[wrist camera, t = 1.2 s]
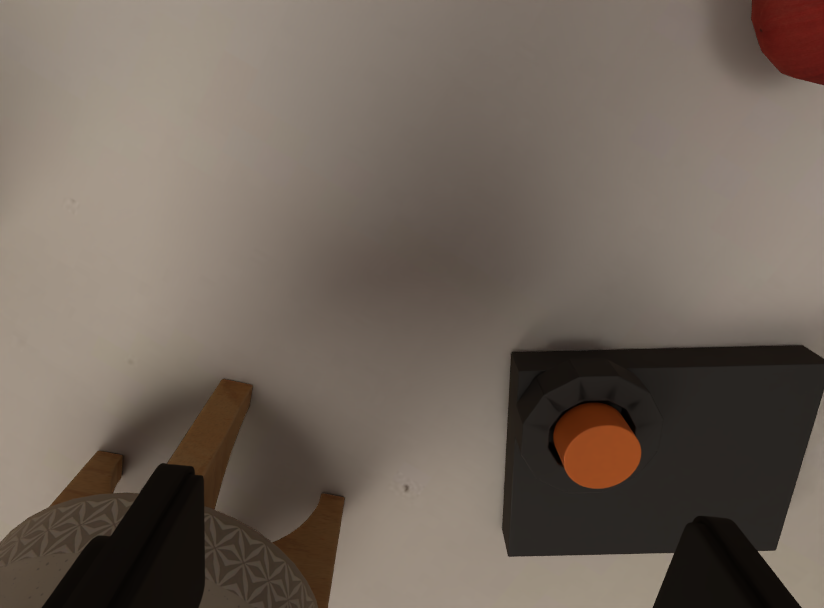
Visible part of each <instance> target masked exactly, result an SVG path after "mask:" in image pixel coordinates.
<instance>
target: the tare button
mask: <svg viewBox="0 0 824 608" xmlns="http://www.w3.org/2000/svg"><path fill="white" fill-rule="evenodd" d="M553 440H554V444H555V447H556V450H557V452H558V454H559V457H560V459H561V462H562V464H563V466H564V469H565V471H566V473H567V475H568V476H569V477H570V478H571V479H572V480H573V481H574V482H576V483H577V484H579V485H581V486H584V487H587V488H593V489H601V488H608V487H611V486H614V485H617V484H619V483H621V482H623V481H624V480H626V479H627V478H628V477H629V476H631V474H632V473H633V472H634V471H635V470H636V468H637V466H638V464H639V462H640V459H641V446H640V443H639V441H638V439H637V437H636V436H635V434H634V433H633V431H632V430H631V428H630V427H629V425H628V424H627V422H626V421H625V419H624V418H623V416H622V415H621V414H620V413H619V411H617V410H616V409H615V408H613V407H612V406H609V405H607V404H604V403H598V402H591V403H584V404H580V405H578V406H575V407H573V408H571V409H570V410H568V411H567V412H566V413H565V414H563V415H562V417H561V418H560V419H559V420H558V422H557V424H556V426H555V429H554V433H553Z"/></svg>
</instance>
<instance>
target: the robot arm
mask: <svg viewBox="0 0 824 608" xmlns="http://www.w3.org/2000/svg"><path fill="white" fill-rule="evenodd" d="M204 587H205V525H204V478H203V476H202V475H195V470H194V467H192V466H185V465H175V464H164V463H162V464H160V465H159V466H158V467H157V468H156V469H155V471H154V472H153V474H152V475H151V477H150V478H149V480H148V481H147V483H146V484H145V486H144V487H143V489H142V490H141V492H140V493H139V495H138V496H137V498H136V499H135V501H134V502H133V504H132V505H131V507H130V508H129V509H128V511H127V512H126V514H125V515H124V517H123V518H122V520H121V521H120V523H119V524H118V526H117V527H116V529H115V530H114V532H113V533H112V535H111V536H102V535H98V536H96V537H94V538H93V539H91V541H90V542H89V543H88V544H87V545H86V546H85V548H84V549H83V550H82V552H81V553H80V555H79V556H78V557H77V559H76V560H75V562H74V563H73V564H72V566H71V567H70V569H69V570H68V571H67V573H66V574H65V576H64V577H63V578H62V580H61V581H60V583H59V584H58V585H57V587H56V588H55V590H54V591H53V592H52V594H51V595H50V597H49V598H48V599H47V601H46V602H45V603H44V605H43V606H42V608H199V606H200V603H201V600H202V596H203V592H204ZM653 608H801V606H800V605H799V604H798V603H797V601H796V600H795V599H794V597H793V596H792V595H791V594H790V592H789V591H788V590H787V588H786V587H785V586H784V585H783V583H782V582H781V581H780V579H779V578H778V577H777V576H776V574H775V573H774V572H773V571H772V569H771V568H770V567H769V565H768V564H767V563H766V562H765V560H764V559H763V558H762V556H761V555H760V554H759V553H758V551H757V550H756V549H755V547H754V546H753V545H752V544H751V542H750V541H749V540H748V538H747V537H746V536H745V535H744V533H743V532H742V531H741V529H740V528H739V527H738V526H737V524H736V523H735V522H734V521H733V520H731V519H728V518H721V517H711V516H697V517H696V518H694V520H693V522H691V523H688V524H686V526H685V528H684V530H683V533H682V535H681V538H680V540H679V543H678V545H677V548H676V550H675V553H674V555H673V558H672V560H671V563H670V565H669V568H668V570H667V573H666V576H665V578H664V581H663V583H662V586H661V588H660V591H659V593H658V596H657V598H656V601H655V603H654V606H653Z"/></svg>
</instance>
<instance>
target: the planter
mask: <svg viewBox="0 0 824 608" xmlns="http://www.w3.org/2000/svg"><path fill="white" fill-rule="evenodd" d="M252 388H253V385H250V384H246V383H241V382H236V381H231V380H226V379H222V380H221V381H220V383H219V385H218V386H217V388H216V389H215V391H214V392H213V394H212V395H211V397H210V398H209V400H208V401H207V403H206V404H205V406H204V408H203V409H202V411H201V412H200V414H199V415H198V417H197V418H196V420H195V421H194V423H193V424H192V426H191V428H190V429H189V431H188V432H187V434H186V435H185V437H184V438H183V440H182V441H181V443H180V444H179V446H178V448H177V449H176V451H175V452H174V454H173V455H172V457H171V458H170V460H169V461H168V463H167V464H175V465H185V466H192V467H194V470H195V475H202V476H203V478H204V525H205V587H204V592H203V596H202V600H201V603H200V606H199V608H328V603H329V596H330V590H331V583H332V577H333V571H334V564H335V558H336V551H337V545H338V538H339V532H340V526H341V519H342V513H343V506H344V500H345V498H344V497H340V496H335V495H329V494H324V493H322V494H321V497H320V500H319V503H318V505H317V507H316V509H315V510H314V512H313V513H312V514H311V516H310V517H309V518H308V519H307V520H306V521H305V522H304V523H303V524H302V525H301V526H300V527H299V528H297V529H296V530H294V531H293V532H292V533H290V534H288V535H287V536H285V537H283V538H281V539H279V540H277V541H274V542H271V541H269V540H268V539H267V538H265V537H264V536H263V535H262V534H260V533H259V532H257V531H256V530H254V529H252V528H250V527H249V526H247V525H245V524H244V523H242V522H240V521H238V520H237V519H235V518H232V517H230V516H228V515H226V514H223V513H221V512H219V511H216V510H215V506H216V502H217V498H218V495H219V491H220V488H221V484H222V480H223V477H224V474H225V471H226V467H227V464H228V461H229V458H230V455H231V452H232V449H233V446H234V443H235V440H236V438H237V435H238V432H239V430H240V427H241V425H242V422H243V420H244V417H245V415H246V413H247V411H248V409H249V406H250V401H251V395H252ZM122 459H123V455H119V454H114V453H109V452H103V451H97V452H96V453H95V455H94V456H93V457H92V458H91V459H90V460H89V462H88V463H87V464H86V465H85V466H84V467H83V468H82V470H81V471H80V472H79V473H78V474H77V475H76V476H75V478H74V479H73V480H72V481H71V482H70V483H69V485H68V486H67V487H66V488H65V489H64V490H63V491H62V493H61V494H60V495H59V496H58V497H57V498H56V500H55V501H54V502H53V503H52V504H51V505H50V506H49V507H48V508H46V509H44V510H42V511H40V512H38V513H37V514H35V515H33V516H31V517H29V518H27V519H26V520H25V521H23V522H22V523H21V524H19V525H18V526H17V527H16V528H14V529H13V530H12V531H10V533H9V534H8V535H7V536H6V537H5V538H4V539H3V540H2V541H1V542H0V608H42V606H43V605H44V603H45V602H46V601H47V599H48V598H49V597H50V595H51V594H52V592H53V591H54V590H55V588H56V587H57V585H58V584H59V583H60V581H61V580H62V578H63V577H64V576H65V574H66V573H67V571H68V570H69V569H70V567H71V566H72V564H73V563H74V562H75V560H76V559H77V557H78V556H79V555H80V553H81V552H82V550H83V549H84V548H85V546H86V545H87V544H88V543H89V542H90V541H91V539H93V538H94V537H96V536H98V535H102V536H111V535H112V533H113V532H114V530H115V529H116V527H117V526H118V524H119V523H120V521H121V520H122V518H123V517H124V515H125V514H126V512H127V511H128V509H129V508H130V507H131V505H132V504H133V502H134V501H135V499H136V498H137V496H138V495H139V494H138V493H113V492H114V489H115V487H116V485H117V483H118V482H119V480H120V479H121V476H122Z"/></svg>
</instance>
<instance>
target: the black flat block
mask: <svg viewBox="0 0 824 608" xmlns="http://www.w3.org/2000/svg"><path fill="white" fill-rule="evenodd" d="M823 391H824V359H823V358H822V357H820V356H819V355H817V354H815V353H814V352H812V351H811V350H809V349H808V348H806V347H804V346H802V345H801V346H759V347H716V348H674V349H632V350H589V351H547V352H512V353H511V368H510V388H509V407H508V427H507V446H506V466H505V485H504V505H503V524H502V531H503V535H504V540H505V544H506V549H507V554H508V556H509V557H514V556H558V555H601V554H644V553H675V550H676V548H677V545H678V543H679V540H680V538H681V535H682V533H683V530H684V528H685V526H686V524H688V523H691V522H693V520H694V518H696V517H697V516H711V517H721V518H728V519H731V520H733V521H734V522H735V523H736V524H737V526H738V527H739V528H740V529H741V531H742V532H743V533H744V535H745V536H746V537H747V538H748V540H749V541H750V542H751V544H752V545H753V546H754V547H755V549H756V550H757V551H774V550H776V548H777V545H778V541H779V538H780V535H781V531H782V528H783V525H784V521H785V518H786V515H787V511H788V508H789V505H790V501H791V498H792V495H793V491H794V488H795V485H796V481H797V478H798V475H799V471H800V468H801V465H802V461H803V458H804V455H805V451H806V448H807V445H808V441H809V438H810V435H811V431H812V428H813V425H814V421H815V418H816V415H817V411H818V408H819V405H820V401H821V398H822V395H823ZM591 402H598V403H604V404H607V405H609V406H612V407H613V408H615V409H616V410H617V411H619V413H620V414H621V415H622V416H623V418H624V419H625V421H626V422H627V424H628V425H629V427H630V428H631V430H632V431H633V433H634V434H635V436H636V437H637V439H638V441H639V443H640V446H641V459H640V462H639V464H638V466H637V468H636V470H635V471H634V472H633V473H632V474H631V476H629V477H628V478H627V479H626V480H624V481H623V482H621V483H619V484H617V485H614V486H611V487H608V488H601V489H593V488H587V487H584V486H581V485H579V484H577V483H576V482H574V481H573V480H572V479H571V478H570V477H569V476H568V475H567V473H566V471H565V469H564V466H563V464H562V462H561V459H560V457H559V454H558V452H557V450H556V447H555V444H554V440H553V433H554V429H555V426H556V424H557V422H558V420H559V419H560V418H561V417H562V415H563V414H565V413H566V412H567V411H568V410H570V409H571V408H573V407H575V406H578V405H580V404H584V403H591Z"/></svg>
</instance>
